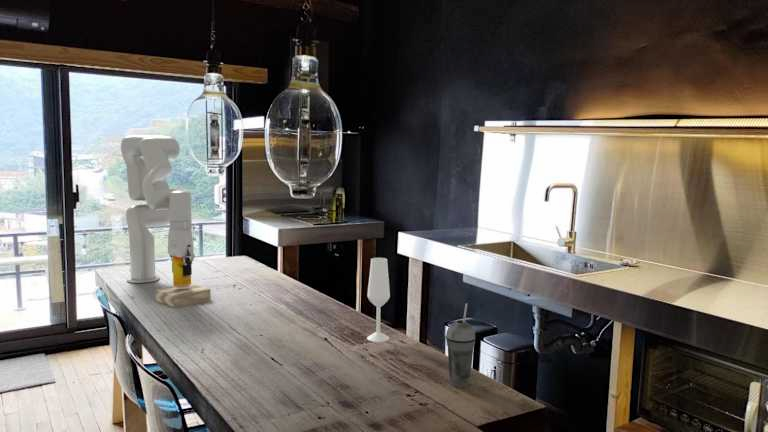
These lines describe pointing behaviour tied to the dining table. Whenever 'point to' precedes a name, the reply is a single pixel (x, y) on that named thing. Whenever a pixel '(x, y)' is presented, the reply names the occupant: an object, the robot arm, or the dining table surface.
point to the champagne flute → (378, 292)
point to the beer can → (179, 272)
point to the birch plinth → (182, 295)
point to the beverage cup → (460, 351)
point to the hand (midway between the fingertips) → (181, 273)
